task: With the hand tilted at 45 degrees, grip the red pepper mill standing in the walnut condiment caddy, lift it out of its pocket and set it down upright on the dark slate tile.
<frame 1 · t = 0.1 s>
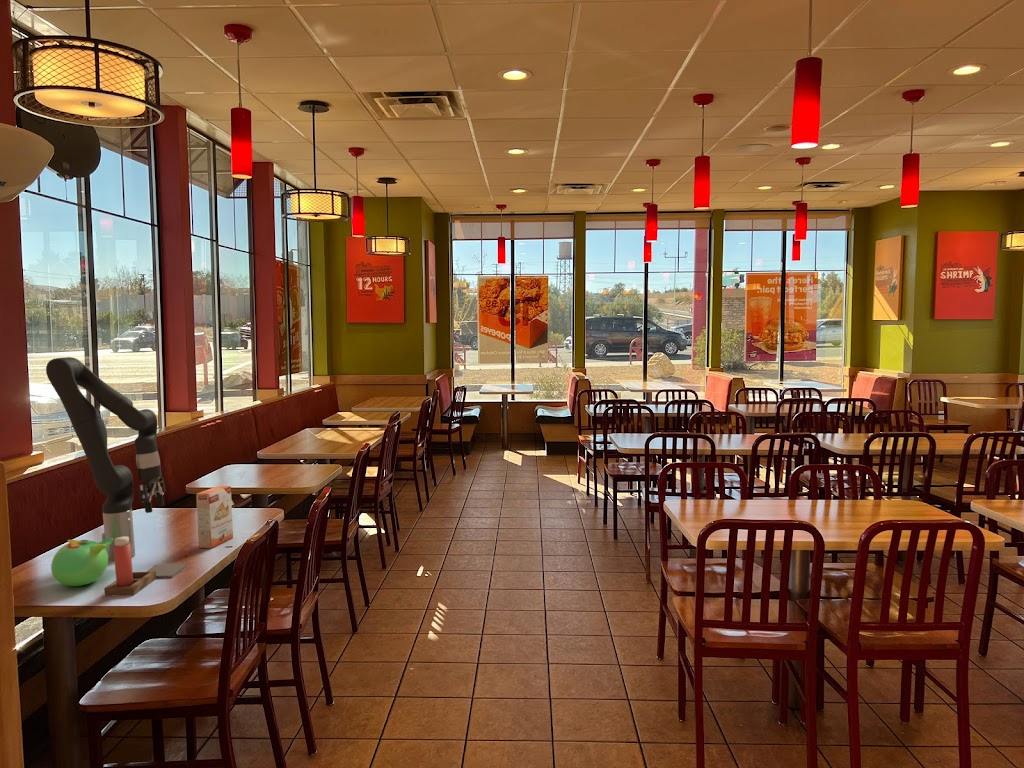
hand: (154, 509, 255), 17 cm above the table, tool pointing down, fingers open, 8 cm apart
pepper mill: (125, 591, 222), resting in caddy
slate tile: (163, 572, 239), on the table
cracker box: (216, 543, 271), on the table
toy bird: (84, 583, 230), on the table
caddy: (131, 587, 226), on the table
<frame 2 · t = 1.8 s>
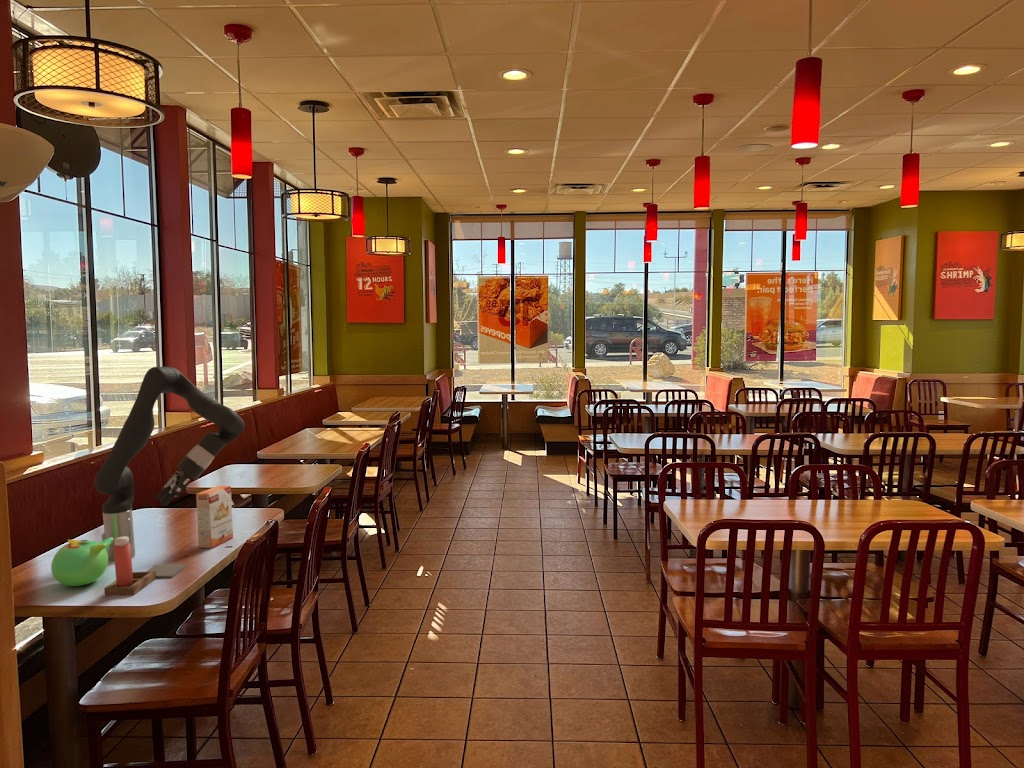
hand: (160, 502, 227), 26 cm above the table, tool tilted 45°, fingers open, 8 cm apart
nothing on the table moved.
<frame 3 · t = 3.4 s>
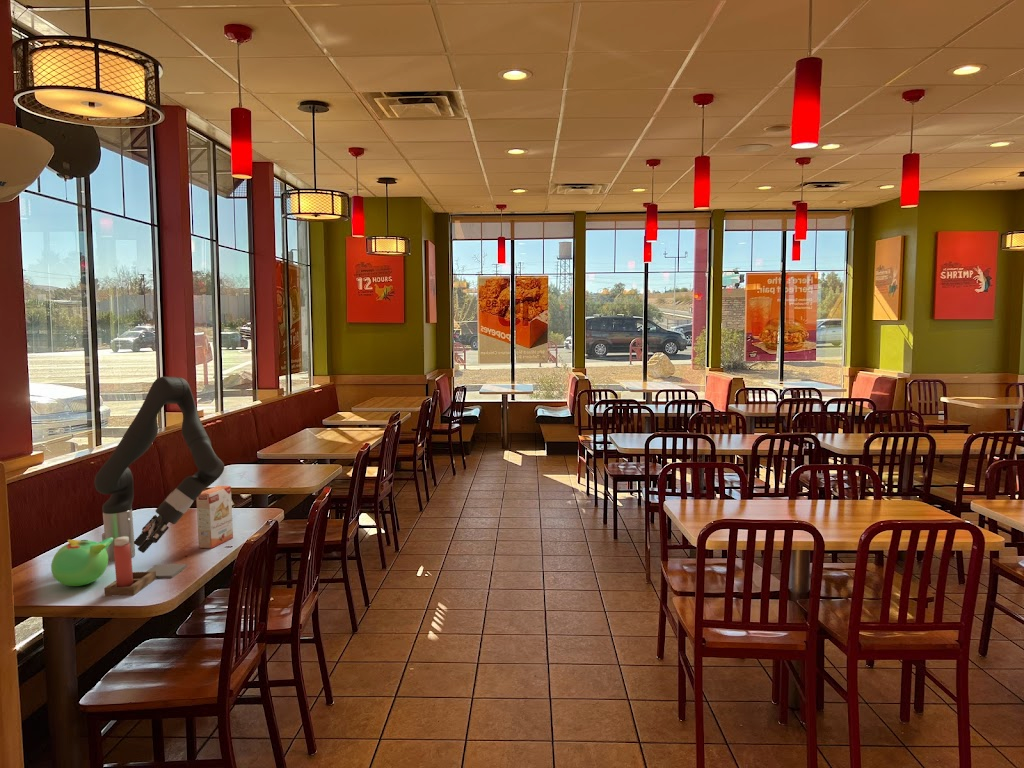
hand: (138, 547, 224), 13 cm above the table, tool tilted 45°, fingers open, 8 cm apart
nothing on the table moved.
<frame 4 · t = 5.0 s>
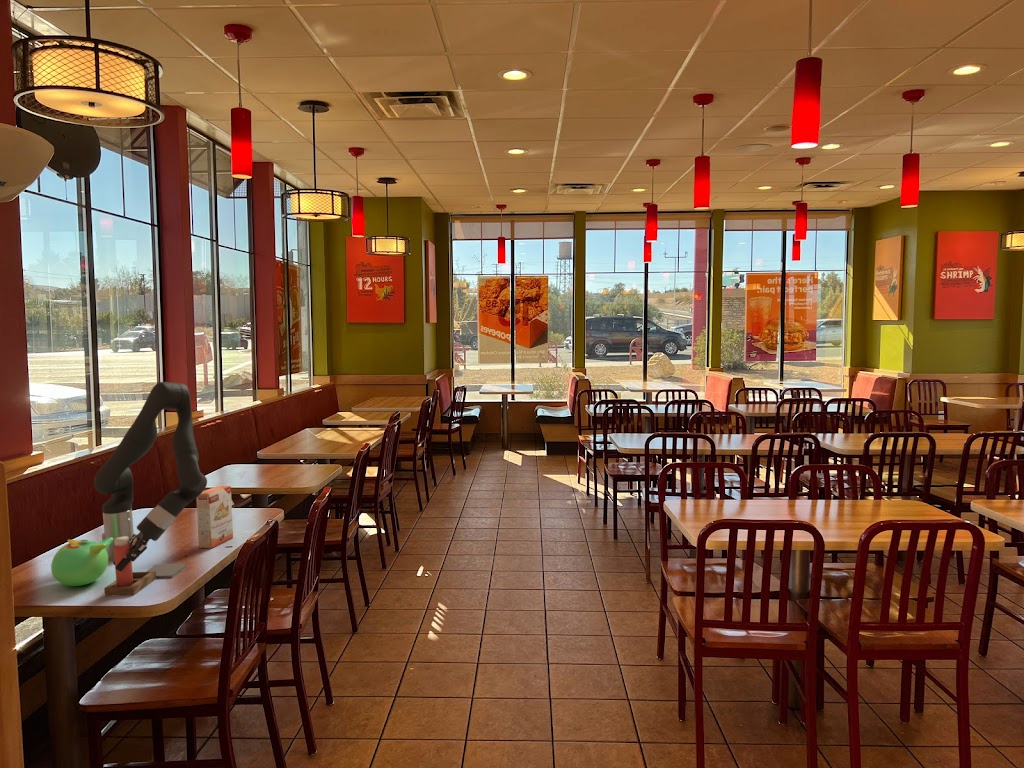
hand: (116, 567, 220), 8 cm above the table, tool tilted 45°, fingers closed on pepper mill, 4 cm apart
pepper mill: (125, 591, 222), resting in caddy, touching gripper
everything else where it was.
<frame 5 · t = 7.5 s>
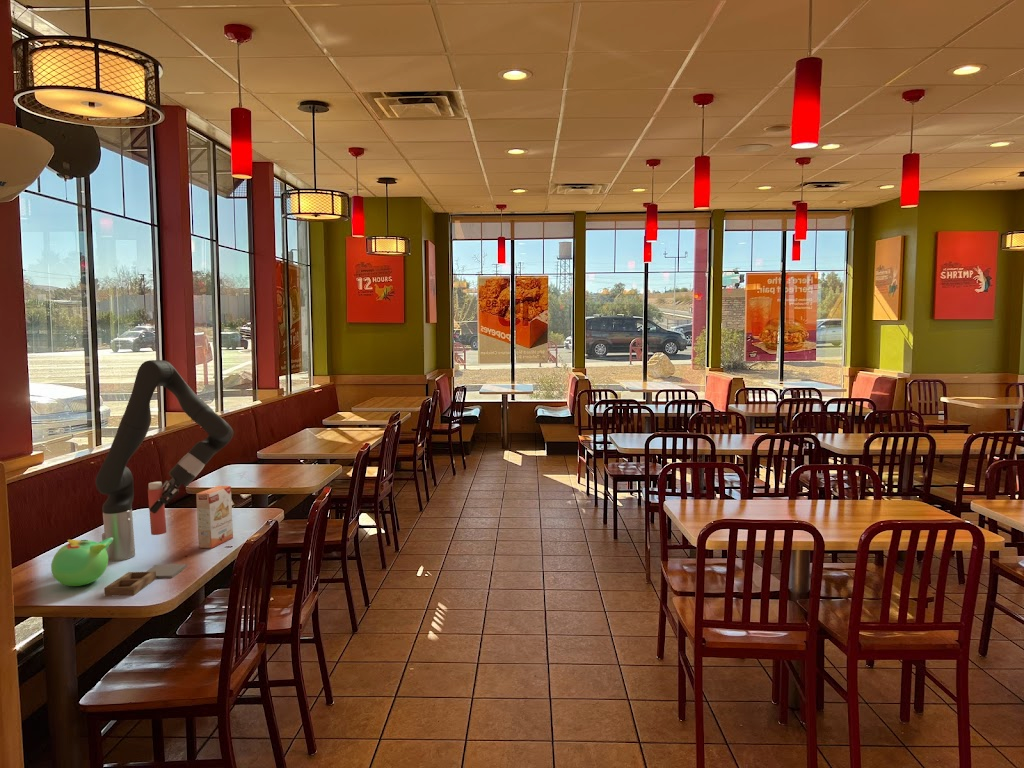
hand: (150, 510, 235), 22 cm above the table, tool tilted 45°, fingers closed on pepper mill, 4 cm apart
pepper mill: (158, 532, 237), point 14 cm above the table, touching gripper
everything else where it was.
when the fingers open (10 cm above the table, at t = 10.4 s): pepper mill stays where it is, resting on slate tile.
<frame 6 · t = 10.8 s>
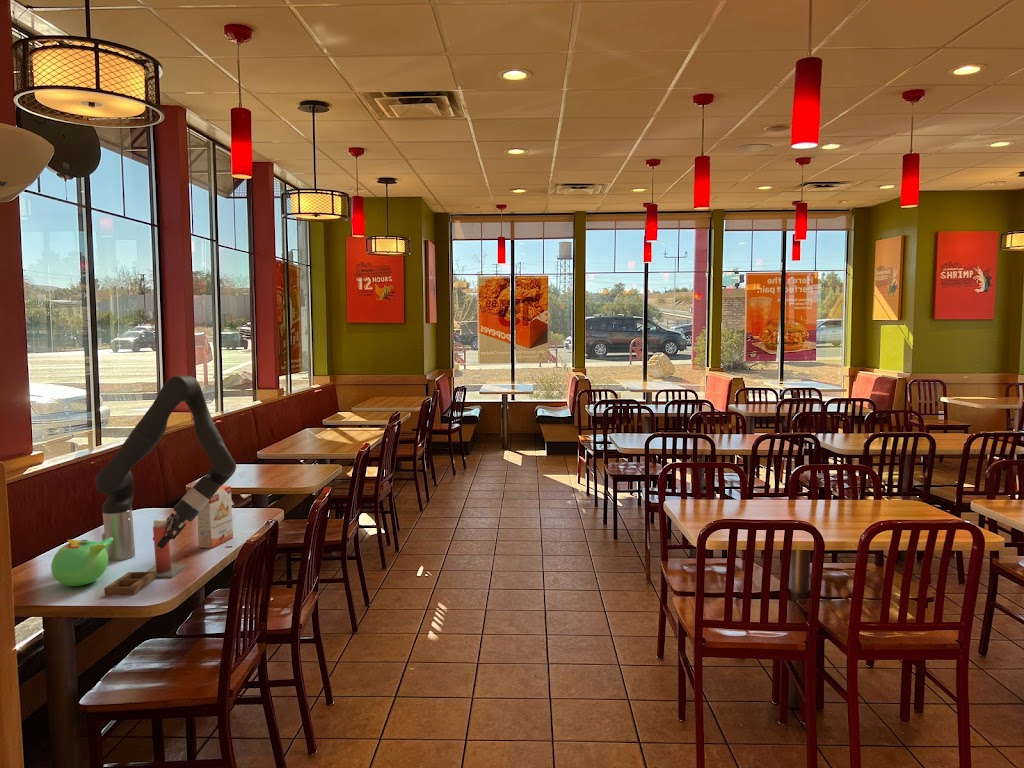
hand: (156, 544, 237), 10 cm above the table, tool tilted 45°, fingers open, 8 cm apart
pepper mill: (163, 569, 239), point 1 cm above the table, touching slate tile
everything else where it was.
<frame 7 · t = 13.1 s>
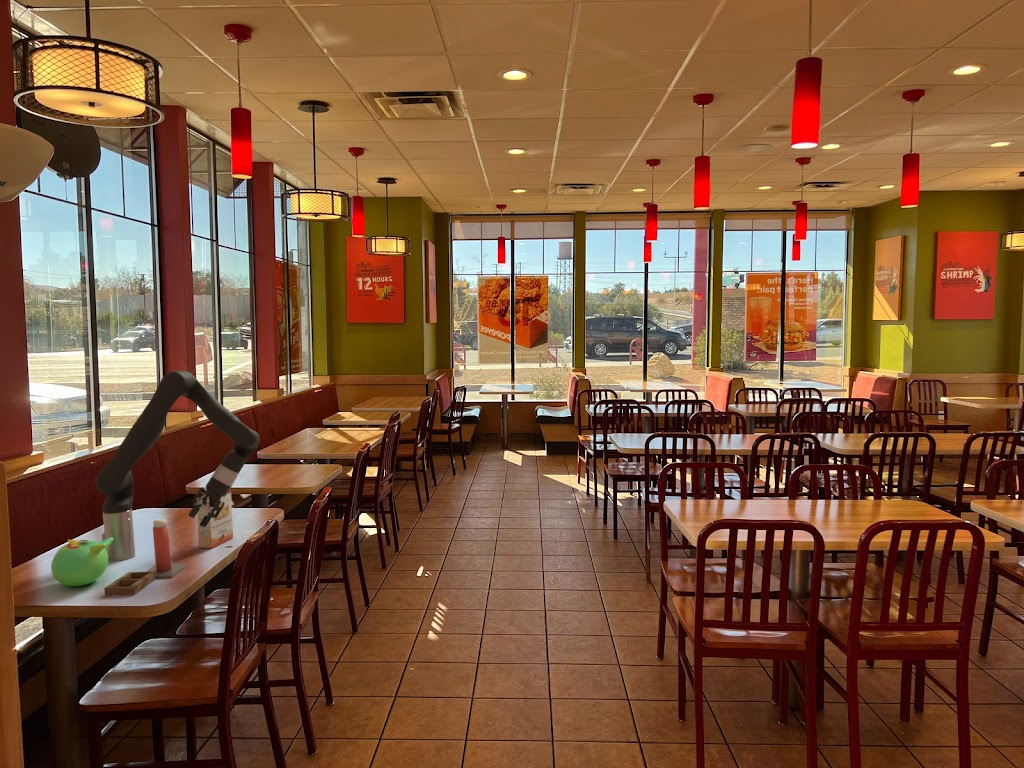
hand: (196, 521, 245), 15 cm above the table, tool tilted 35°, fingers open, 8 cm apart
nothing on the table moved.
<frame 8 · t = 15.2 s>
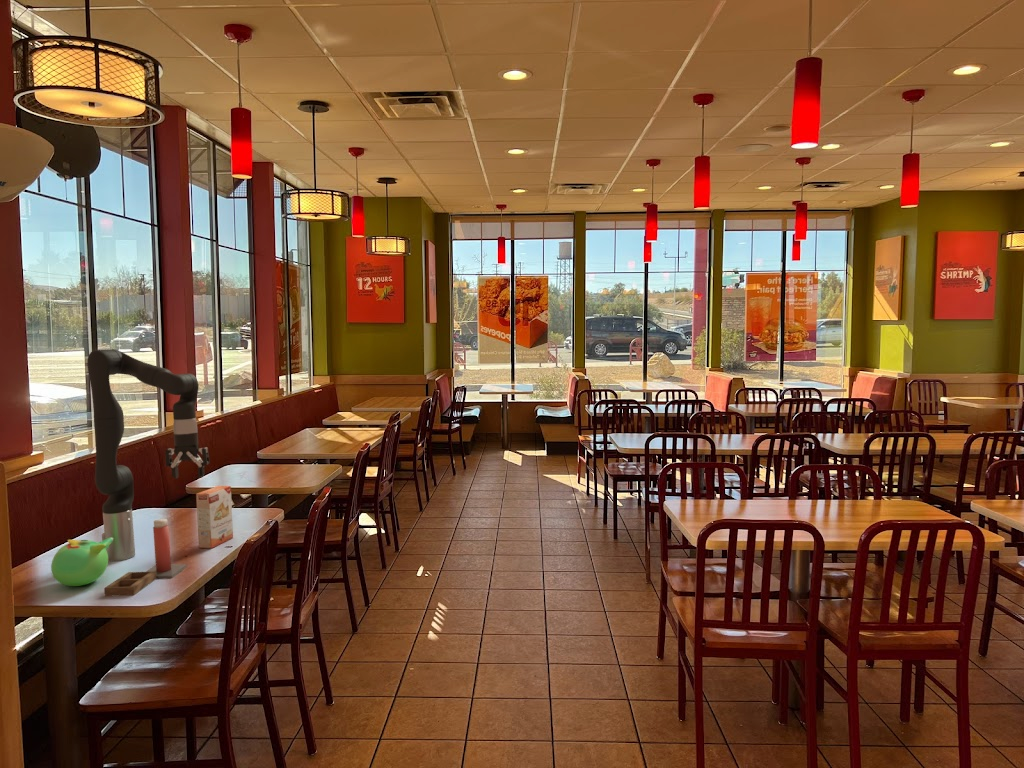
hand: (188, 477, 246), 30 cm above the table, tool pointing down, fingers open, 8 cm apart
nothing on the table moved.
at the end: pepper mill inside the target area on the slate tile (0.1 cm from its centre), point 0.8 cm above the slate tile's base; pepper mill tilted 1°; the gripper is holding nothing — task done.
